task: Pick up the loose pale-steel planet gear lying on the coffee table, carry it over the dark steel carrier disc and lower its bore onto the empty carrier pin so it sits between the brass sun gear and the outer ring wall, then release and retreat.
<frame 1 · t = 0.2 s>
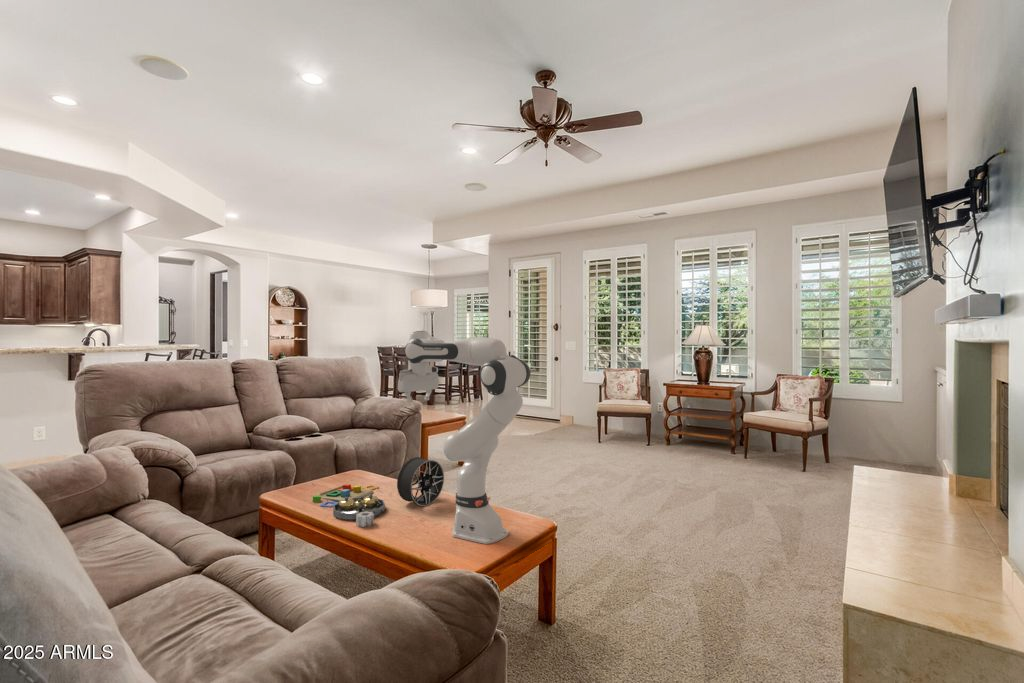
hand: (418, 401, 210), 47 cm above the table, fingers open, 8 cm apart
carrier: (359, 511, 210), on the table
wheel rim: (420, 503, 222), on the table
shape sorter: (346, 496, 231), on the table
planet gear: (364, 524, 196), on the table
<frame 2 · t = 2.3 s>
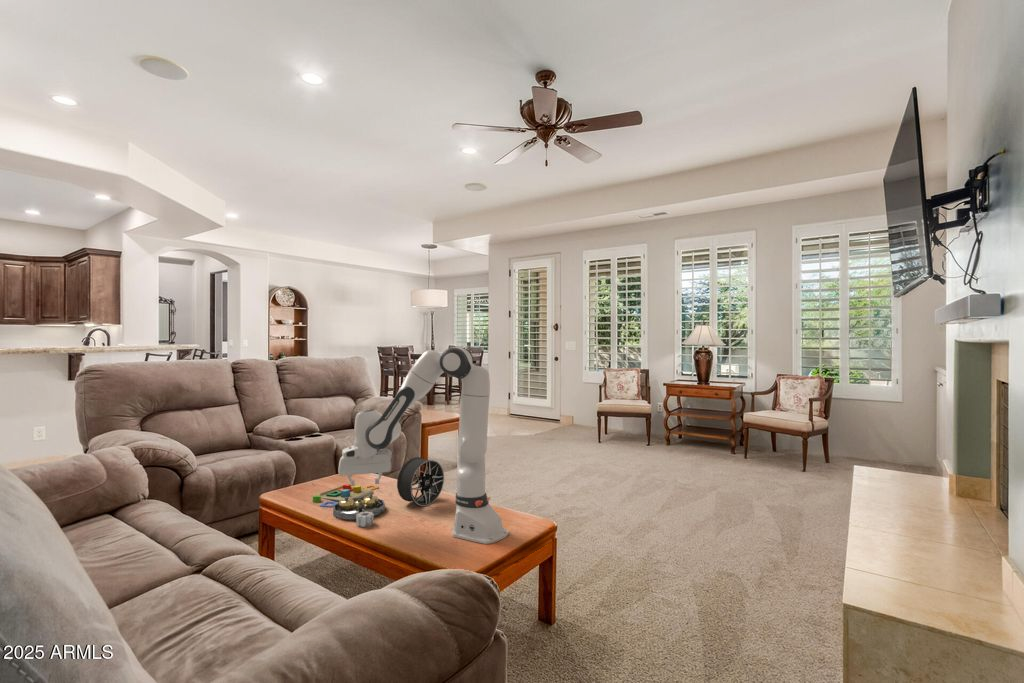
hand: (364, 484, 196), 16 cm above the table, fingers open, 8 cm apart
nothing on the table moved.
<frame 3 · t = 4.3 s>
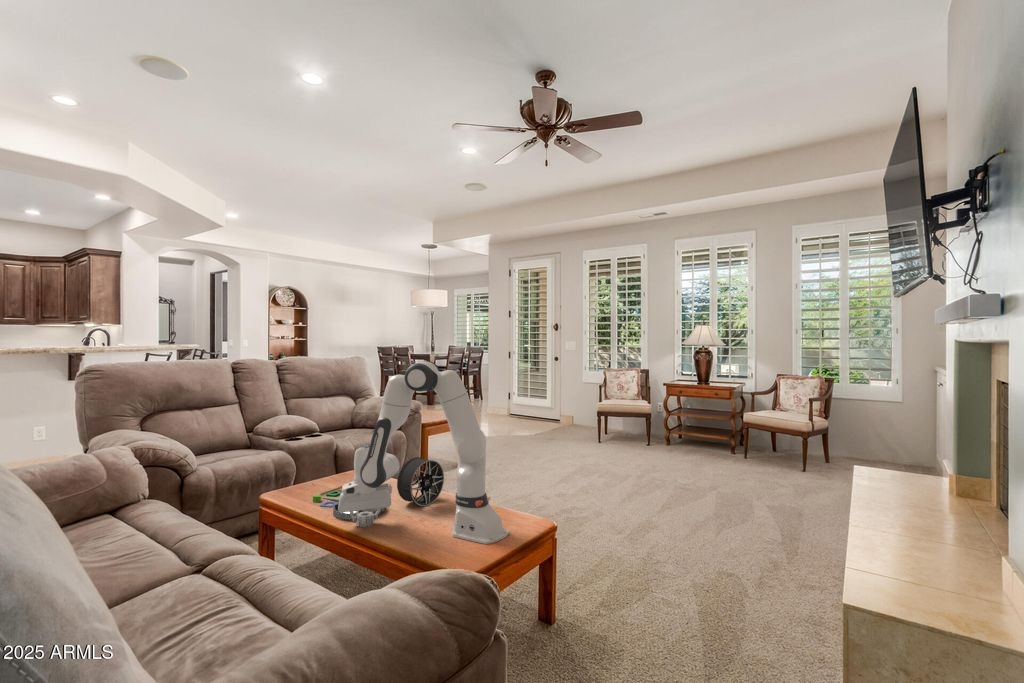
hand: (365, 520, 196), 2 cm above the table, fingers closed on planet gear, 7 cm apart
planet gear: (365, 524, 196), on the table, touching gripper
everything else where it was.
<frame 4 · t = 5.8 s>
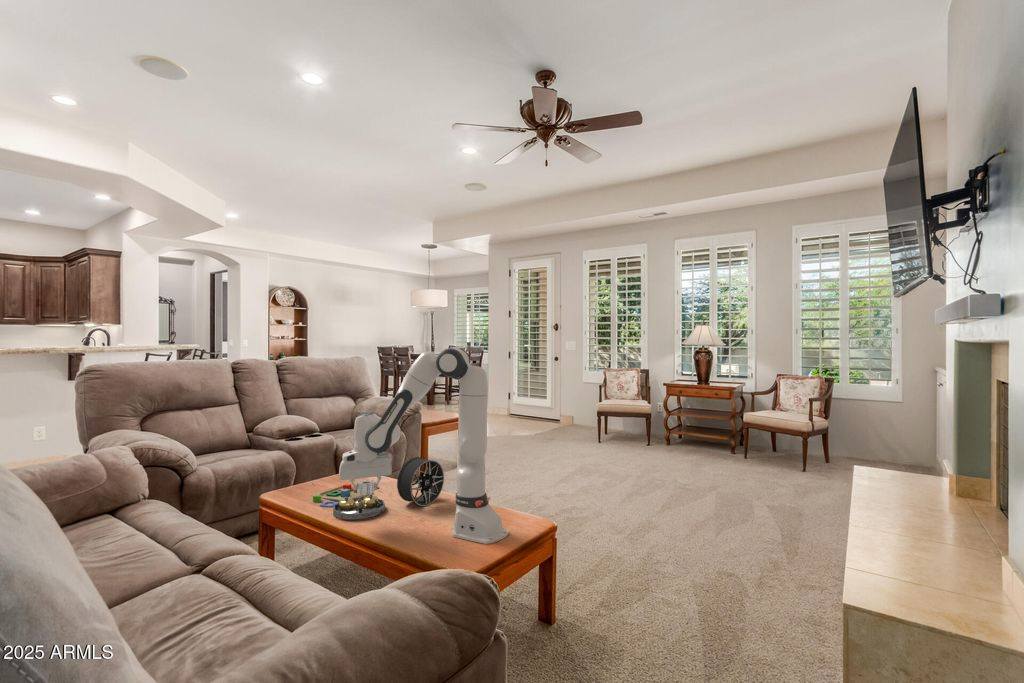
hand: (365, 488, 196), 14 cm above the table, fingers closed on planet gear, 7 cm apart
planet gear: (365, 492, 196), point 13 cm above the table, touching gripper
everything else where it was.
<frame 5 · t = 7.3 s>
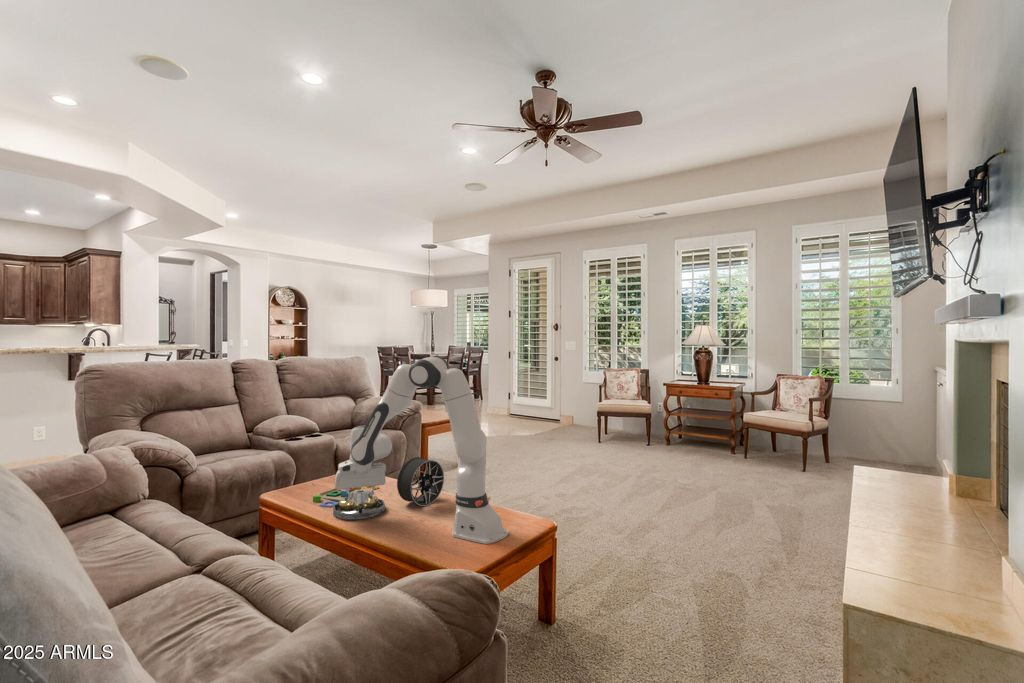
hand: (360, 497, 205), 8 cm above the table, fingers closed on planet gear, 7 cm apart
planet gear: (360, 501, 205), point 6 cm above the table, touching gripper
everything else where it was.
when the fingers open (4 cm above the table, at t = 9.1 s): planet gear stays where it is, resting on carrier.
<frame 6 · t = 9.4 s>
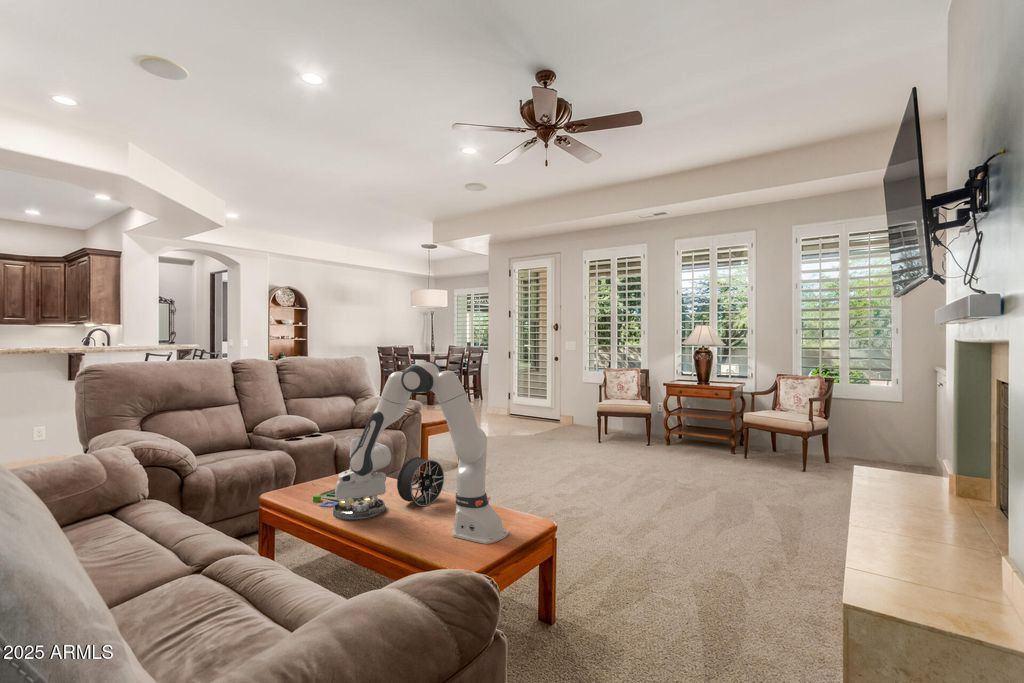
hand: (360, 507, 205), 4 cm above the table, fingers open, 8 cm apart
planet gear: (360, 513, 205), point 1 cm above the table, touching carrier
everything else where it was.
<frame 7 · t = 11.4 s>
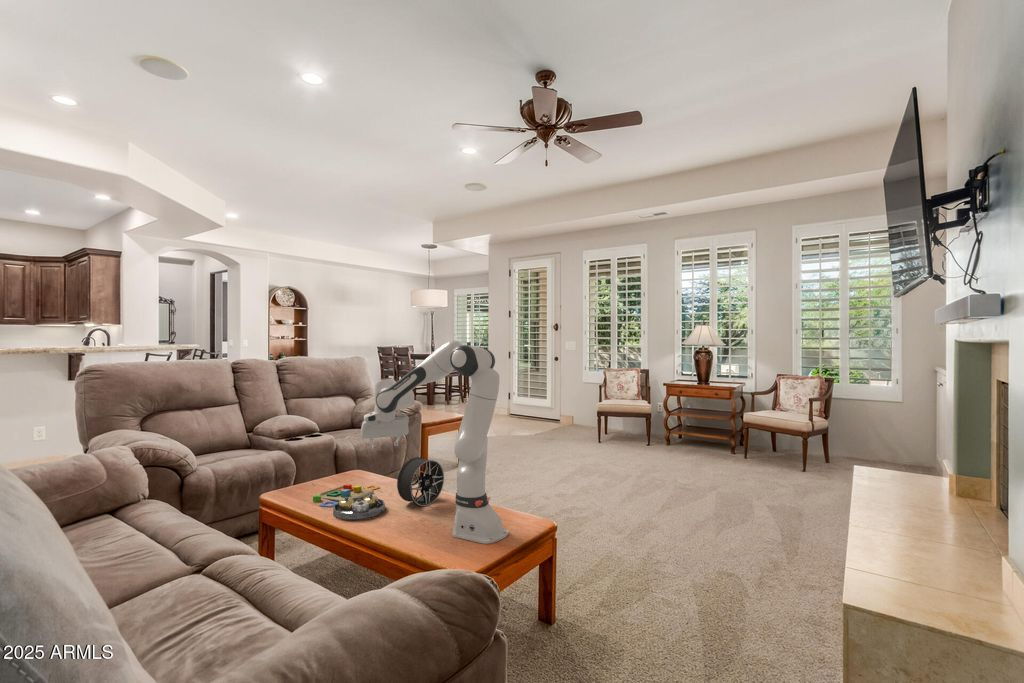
hand: (385, 447, 214), 27 cm above the table, fingers open, 8 cm apart
nothing on the table moved.
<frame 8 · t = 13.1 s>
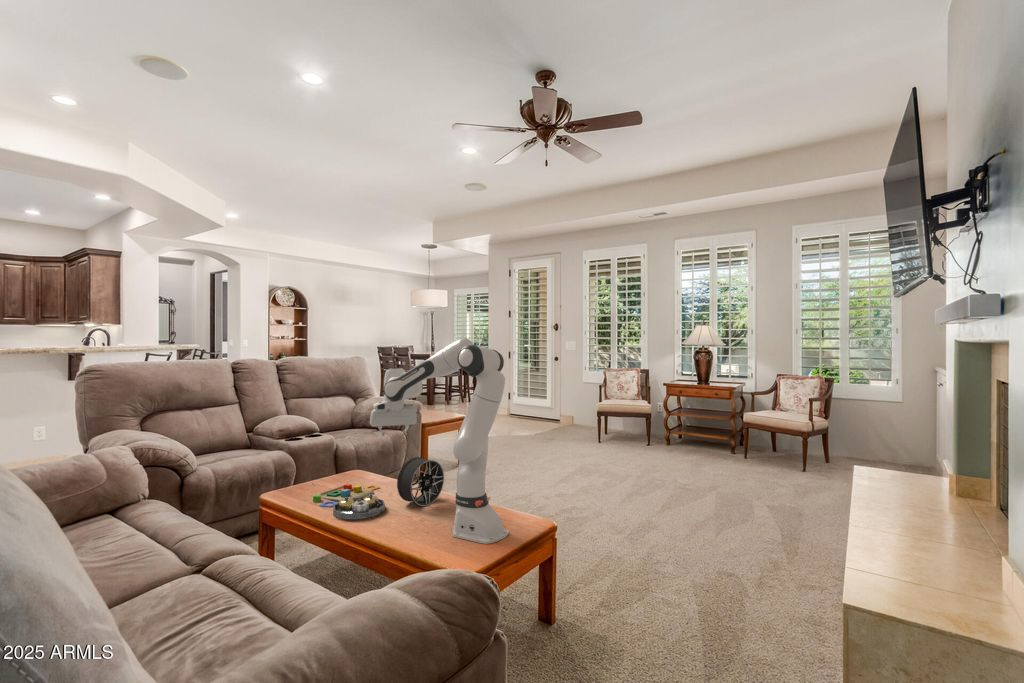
hand: (393, 435, 218), 31 cm above the table, fingers open, 8 cm apart
nothing on the table moved.
at the end: planet gear 0.1 cm from the target spot on the carrier, point 1.2 cm above the carrier's base; the gripper is holding nothing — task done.
